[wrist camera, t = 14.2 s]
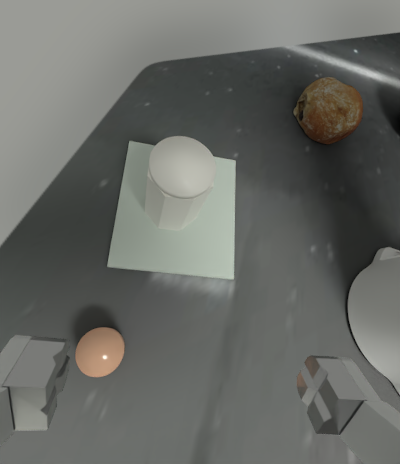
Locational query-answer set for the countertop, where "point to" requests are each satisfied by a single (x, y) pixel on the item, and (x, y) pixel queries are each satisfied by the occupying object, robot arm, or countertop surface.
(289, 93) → the countertop surface
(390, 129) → the countertop surface
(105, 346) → the brown egg
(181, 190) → the domed hexagonal post
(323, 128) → the bread roll
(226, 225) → the mat
